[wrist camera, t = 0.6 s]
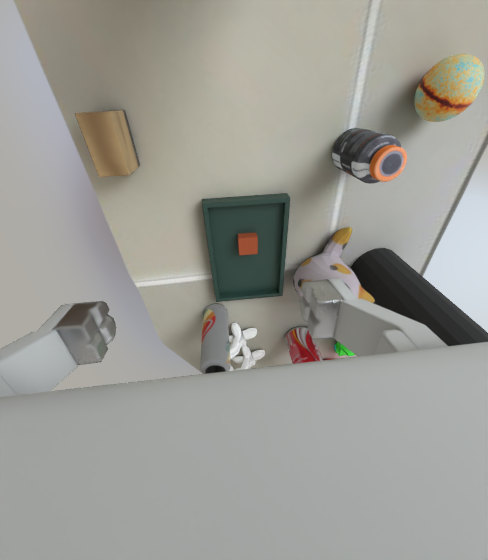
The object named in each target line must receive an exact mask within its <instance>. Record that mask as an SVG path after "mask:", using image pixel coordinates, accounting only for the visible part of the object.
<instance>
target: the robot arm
mask: <svg viewBox="0 0 488 560" xmlns="http://www.w3.org/2000/svg"><path fill="white" fill-rule="evenodd" d="M301 291H302V293H303V295H304V296H303V297H302V298H301V304H300V306H301V313H302V317H303V319H304V321H306V322H308V330H309V332H310V334H311V336H312V338H313V339H322V338H334V339H335V340H336V341H338V342H339V343H340V344H342V345H343V346H344V347H346V348H347V349H348V350H350V351H351V352H352V353H354V354H355V355H357V356H358V357H349V358H341V359H332V360H323V361H315V362H306V363H297V364H288V365H279V366H270V367H261V368H252V369H243V370H234V371H225V372H216V373H208V374H199V375H190V376H181V377H173V378H164V379H156V380H146V381H137V382H128V383H120V384H111V385H102V386H93V387H84V388H75V389H66V390H57V391H51V390H52V389H53V388H54V387H56V386H57V385H58V384H59V383H60V382H61V381H62V380H63V379H65V378H66V377H67V376H68V375H69V374H70V373H71V372H73V371H74V370H75V369H76V368H77V367H78V365H83V364H91V363H98V362H101V361H102V359H103V358H104V355H105V354H106V352H107V350H108V348H107V344H109V343H110V342H111V341H112V340H113V339H114V336H115V333H116V325H115V321H114V319H113V318H112V317H111V316H109V315H108V312H109V308H108V306H107V304H106V303H105V302H103V301H99V302H85V303H73V304H65V305H61V306H60V307H59V308H58V309H57V311H56V312H54V314H53V315H52V316H51V317H50V318H49V319H48V320H47V321H46V322H45V323H44V324H43V325H42V326H41V327H40V328H39V329H38V330H37V331H36V332H31V333H29V334H28V335H26V336H24V337H22V338H20V339H18V340H16V341H14V342H13V343H10V344H9V345H7V346H5V347H3V348H1V349H0V560H488V342H482V343H473V344H465V345H456V346H447V345H446V344H445V343H444V342H443V341H442V340H441V339H440V338H439V337H438V336H437V335H436V334H434V333H433V332H432V331H431V330H430V329H429V328H428V327H427V326H426V325H424V324H421V323H419V322H417V321H414V320H412V319H409V318H407V317H405V316H402V315H400V314H397V313H395V312H393V311H390V310H388V309H385V308H383V307H381V306H378V305H376V304H373V303H371V302H369V301H366V300H364V299H358V298H357V297H356V296H355V295H354V294H353V293H352V291H351V290H350V289H349V288H348V287H347V286H346V285H345V283H344V282H343V281H342V280H341V279H340V278H332V279H325V280H316V281H308V282H303V284H302V290H301Z"/></svg>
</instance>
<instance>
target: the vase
mask: <svg viewBox="0 0 488 560" xmlns="http://www.w3.org/2000/svg"><path fill="white" fill-rule="evenodd" d="M352 271H353V272H354V274H355V275H356V277H357V279H358V280H359V282H360V285H361V287H362V288H363V289H364V290H365V291H367V292H368V293H369V294H370V295H371V296H372V297H373V298H374V300H375V301H374V303H373V304H376V305H378V306H381V307H383V308H385V309H388V310H390V311H393V312H395V313H397V314H400V315H402V316H405V317H407V318H409V319H412V320H414V321H417V322H419V323H421V324H424V325H426V326H427V327H428V328H429V329H430V330H431V331H432V332H433V333H434V334H436V335H437V336H438V337H439V338H440V339H441V340H442V341H443V342H444V343H445V344H446V345H447V346H456V345H465V344H473V343H482V342H488V333H487V332H486V331H485V330H484V329H483V328H482V327H480V326H479V325H478V324H477V323H476V322H475V321H473V320H472V319H471V318H470V317H469V316H468V315H466V314H465V313H464V312H463V311H462V310H461V309H459V308H458V307H457V306H456V305H455V304H453V303H452V302H451V301H450V300H449V299H448V298H446V297H445V296H444V295H443V294H442V293H441V292H439V291H438V290H437V289H436V288H435V287H434V286H432V285H431V284H430V283H429V282H428V281H427V280H425V279H424V278H423V277H422V276H421V275H420V274H418V273H417V272H416V271H415V270H414V269H413V268H411V267H410V266H409V265H408V264H407V263H406V262H404V261H403V260H402V259H401V258H400V257H399V256H397V255H396V254H395V253H394V252H393V251H392V250H389V249H386V248H380V249H374V250H371V251H369V252H367V253H365V254H364V255H362V256H361V257H360V258H359V259H358V260H357V261H356V262H355V263H354V265H353V267H352Z"/></svg>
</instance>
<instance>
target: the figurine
mask: <svg viewBox="0 0 488 560" xmlns="http://www.w3.org/2000/svg"><path fill="white" fill-rule="evenodd" d="M351 233H352V228H350V227H347V228H343V229H341V230H339V231H337V232H336V233H335V234H334V235H333V236H332V237H331V239H330V240H329V242H328V243H327V245H326V247H325V248H324V251H323V253H321V254H319V255H317V256H314V257H311V258H308V259H307V260H306V261H305V262H304V263H302V264H301V265H300V266H299V268H298V269H297V270H296V272H295V275H294V277H293V284H294V287H295V290H296V292H297V293H298V294H299V295H300V296H301V298H302V297H303V296H304V295H303V293H302V291H301V290H302V284H303V282H308V281H316V280H325V279H332V278H340V279H341V280H342V281H343V282H344V283H345V285H346V286H347V287H348V288H349V289H350V290H351V291H352V293H353V294H354V295H355V296H356V297H357V298H358V299H364V300H366V301H369V302H371V303H374V301H375V300H374V298H373V297H372V296H371V295H370V294H369V293H368V292H367V291H365V290H364V289H363V288H362V287H361V285H360V282H359V280H358V279H357V277H356V275H355V274H354V272H353V271H352V269H351V268H350V267H349V266H348V265H347V264H346V263H345V262H344V261H342V259H341V258H340V256H341V254H342V252H343V249H344V248H345V246H346V244H347V243H348V240H349V238H350V235H351Z"/></svg>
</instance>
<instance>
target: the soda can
mask: <svg viewBox="0 0 488 560" xmlns="http://www.w3.org/2000/svg"><path fill="white" fill-rule="evenodd" d="M286 342H287V346H288V349H289V352H290V356H291V359H292V363H293V364H297V363H306V362H315V361H323V359H322V356H321V354H320V351H319V349H318V347H317V344H316V342H315V339H313V338H312V336H311V334H310V332H309V330H308V328H305V327H295V328H293V329H291V330H290V331H289V332H288V333H287V335H286Z"/></svg>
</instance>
